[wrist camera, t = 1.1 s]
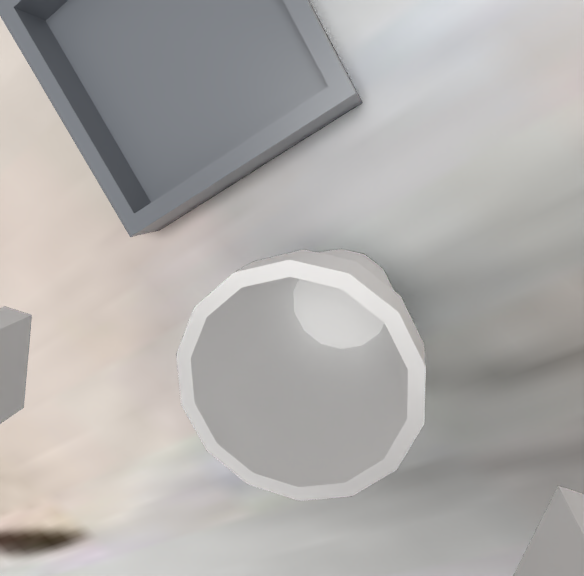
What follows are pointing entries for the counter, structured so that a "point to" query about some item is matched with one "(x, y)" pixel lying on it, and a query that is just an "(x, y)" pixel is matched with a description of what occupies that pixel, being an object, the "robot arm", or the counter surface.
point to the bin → (180, 91)
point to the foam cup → (305, 374)
